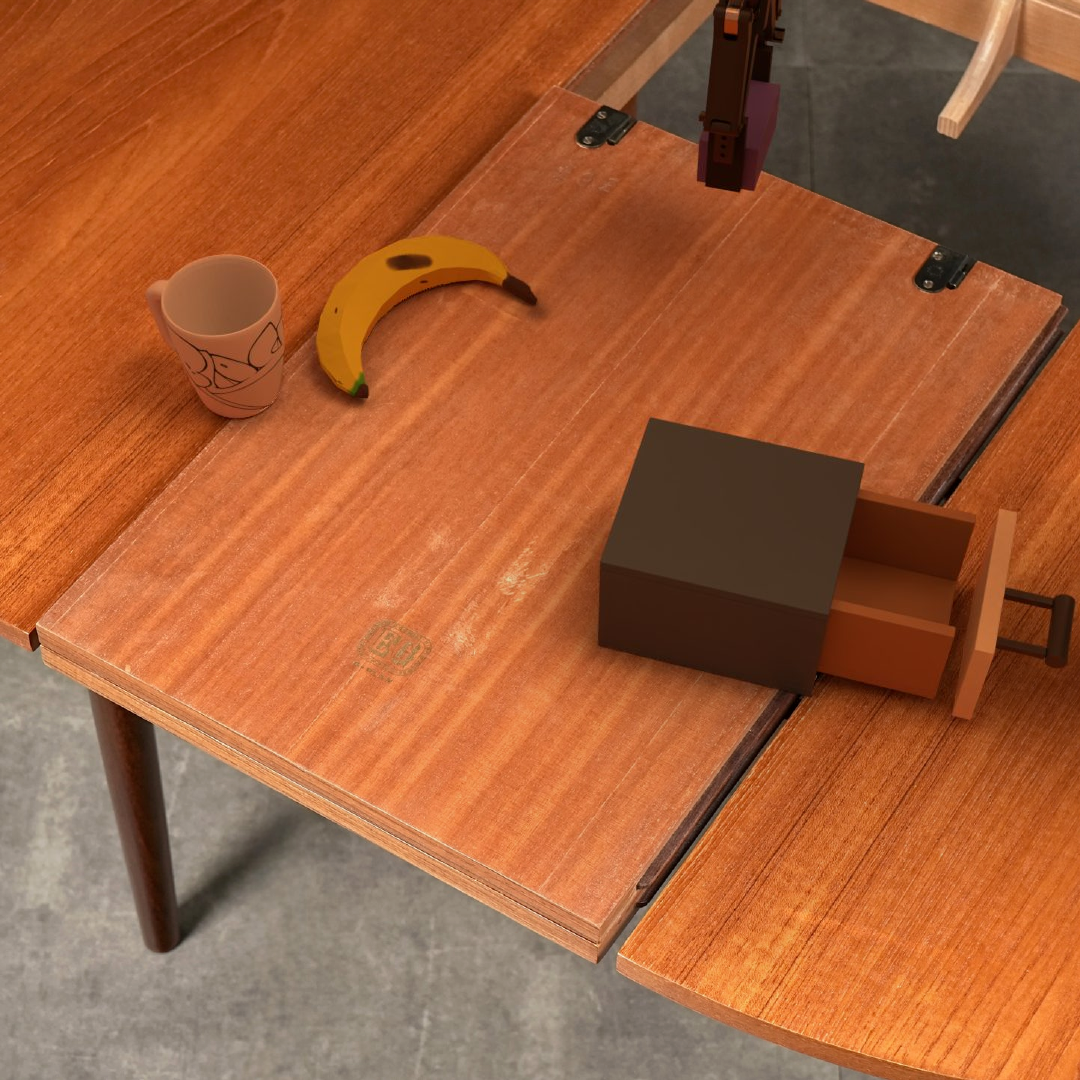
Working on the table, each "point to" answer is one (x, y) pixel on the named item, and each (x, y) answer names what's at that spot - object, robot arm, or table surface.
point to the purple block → (751, 132)
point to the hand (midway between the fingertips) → (736, 150)
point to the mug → (224, 331)
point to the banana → (397, 295)
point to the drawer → (926, 600)
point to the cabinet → (727, 555)
